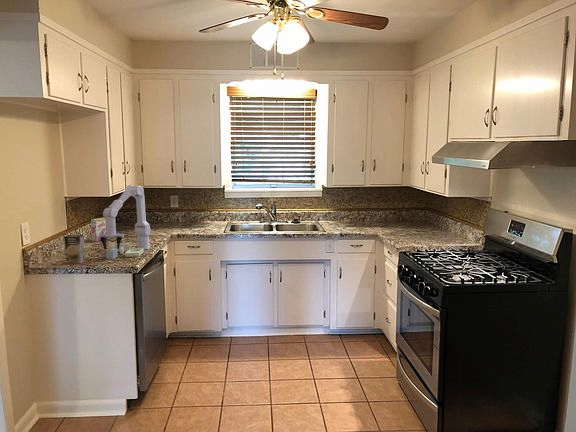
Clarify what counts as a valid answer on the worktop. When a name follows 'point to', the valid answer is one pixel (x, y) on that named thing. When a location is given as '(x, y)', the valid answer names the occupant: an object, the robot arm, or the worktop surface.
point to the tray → (134, 252)
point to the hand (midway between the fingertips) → (111, 248)
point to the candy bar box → (98, 228)
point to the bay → (121, 247)
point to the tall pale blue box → (112, 253)
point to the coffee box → (74, 248)
